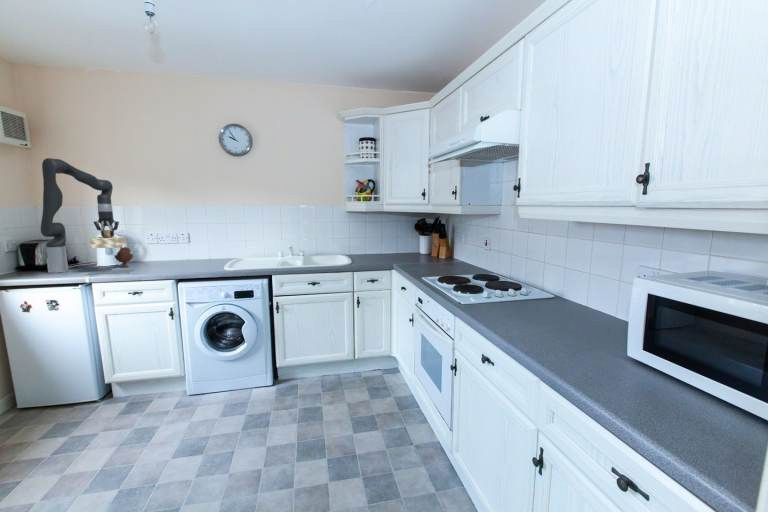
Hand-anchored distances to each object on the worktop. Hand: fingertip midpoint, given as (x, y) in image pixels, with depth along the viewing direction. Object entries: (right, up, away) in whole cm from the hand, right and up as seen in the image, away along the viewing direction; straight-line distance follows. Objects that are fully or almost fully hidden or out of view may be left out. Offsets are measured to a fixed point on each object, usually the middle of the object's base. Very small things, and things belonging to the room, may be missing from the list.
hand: (107, 236), depth 230 cm
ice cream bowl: (-5, -22, +21) cm, 31 cm away
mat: (0, -24, +4) cm, 25 cm away
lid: (0, -7, +1) cm, 7 cm away
